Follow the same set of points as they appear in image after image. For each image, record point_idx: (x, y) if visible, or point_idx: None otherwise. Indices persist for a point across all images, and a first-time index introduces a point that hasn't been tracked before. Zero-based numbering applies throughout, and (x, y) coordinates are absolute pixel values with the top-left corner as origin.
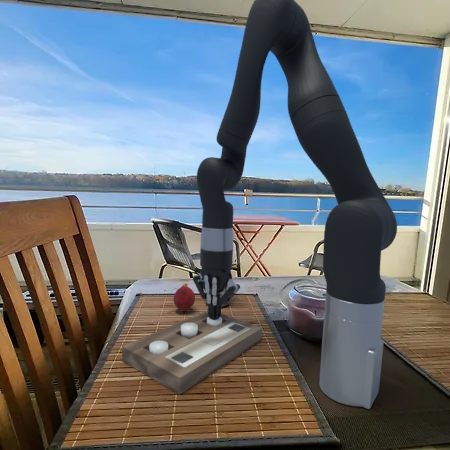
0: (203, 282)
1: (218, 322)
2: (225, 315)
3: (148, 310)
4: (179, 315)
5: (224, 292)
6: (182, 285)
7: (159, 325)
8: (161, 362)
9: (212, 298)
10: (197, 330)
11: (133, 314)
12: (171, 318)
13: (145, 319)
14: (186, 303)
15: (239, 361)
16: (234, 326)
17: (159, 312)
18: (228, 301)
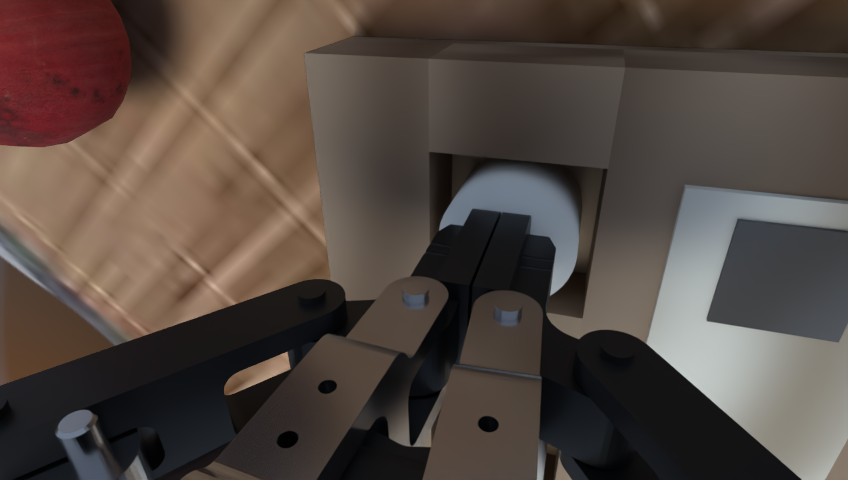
0: (138, 420)
1: (570, 272)
2: (518, 70)
3: (17, 167)
4: (158, 105)
5: (538, 384)
6: None
7: (220, 283)
8: None
9: (428, 383)
10: (538, 465)
11: (43, 251)
12: (174, 176)
13: (122, 265)
14: (106, 103)
15: None
16: (755, 273)
17: (65, 150)
18: (647, 346)
